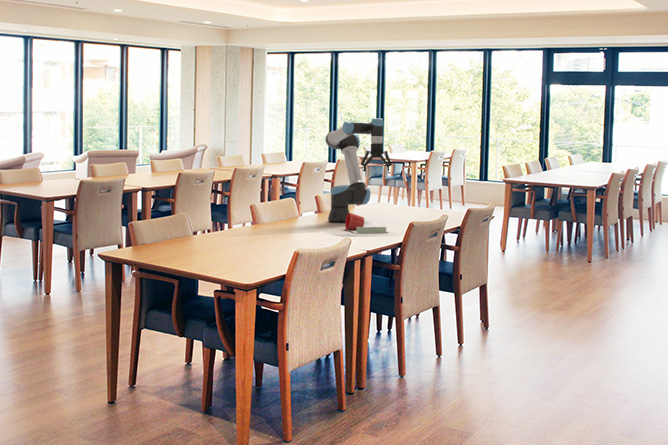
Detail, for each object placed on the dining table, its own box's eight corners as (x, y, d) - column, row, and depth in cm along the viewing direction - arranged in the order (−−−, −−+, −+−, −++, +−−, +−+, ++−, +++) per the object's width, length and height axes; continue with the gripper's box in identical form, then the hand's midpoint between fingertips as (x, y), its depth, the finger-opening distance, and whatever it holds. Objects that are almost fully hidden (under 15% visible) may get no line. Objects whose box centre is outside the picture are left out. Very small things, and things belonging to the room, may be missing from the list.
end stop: (356, 232, 454) (356, 227, 453) (384, 232, 459) (385, 226, 458) (357, 233, 452) (357, 227, 451) (386, 232, 457) (386, 227, 457)
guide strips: (344, 230, 469) (344, 229, 469) (378, 230, 476) (378, 229, 476) (353, 233, 452) (353, 232, 452) (388, 232, 458) (388, 232, 458)
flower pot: (363, 211, 478) (348, 209, 476) (366, 220, 469) (351, 217, 467) (359, 226, 483) (344, 224, 481) (362, 234, 474) (347, 232, 471)
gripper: (359, 142, 476) (359, 176, 478) (397, 143, 483) (396, 177, 485) (356, 142, 483) (355, 176, 485) (393, 143, 490) (392, 176, 492)
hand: (376, 176), depth 485 cm, fingers open, 13 cm apart
